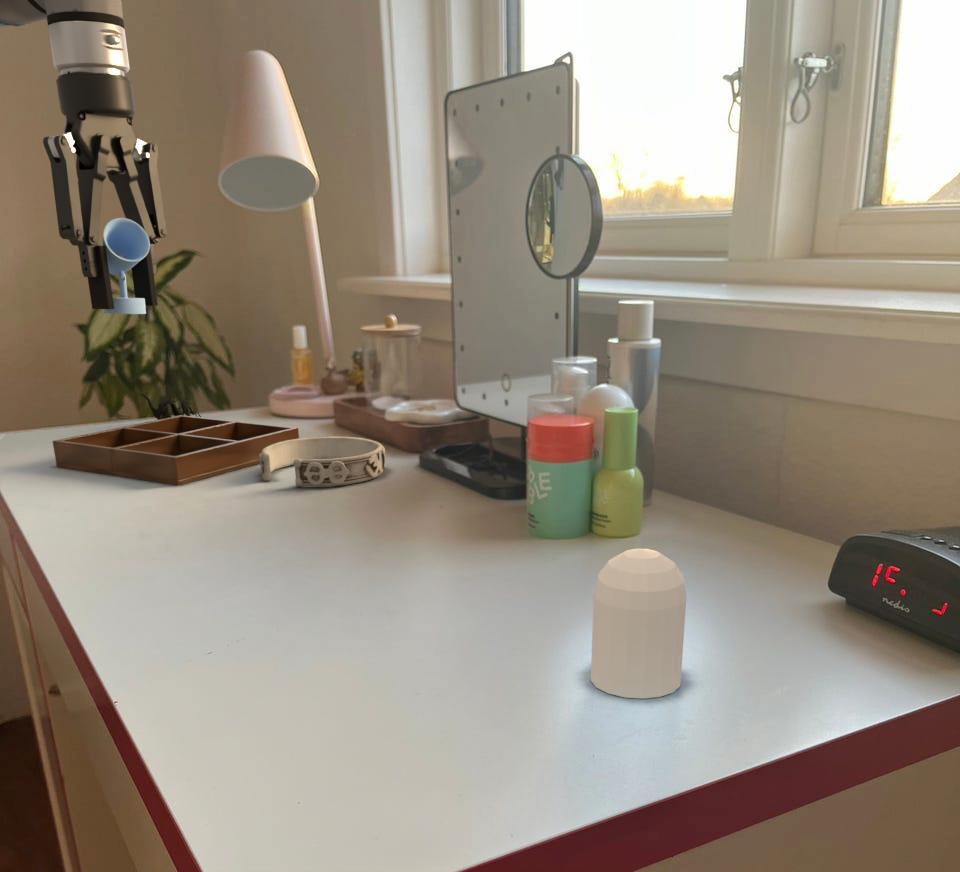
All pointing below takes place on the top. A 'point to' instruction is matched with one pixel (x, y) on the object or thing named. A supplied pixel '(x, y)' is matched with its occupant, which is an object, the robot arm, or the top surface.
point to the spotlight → (125, 260)
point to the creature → (163, 409)
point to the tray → (171, 448)
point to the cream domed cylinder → (638, 625)
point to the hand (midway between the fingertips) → (125, 306)
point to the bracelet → (325, 460)
